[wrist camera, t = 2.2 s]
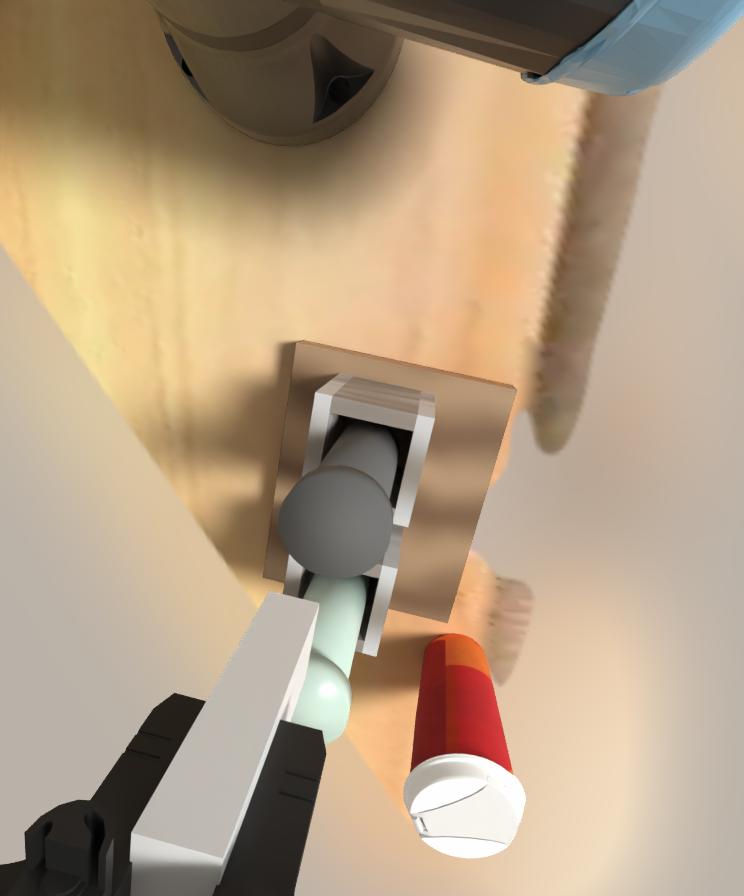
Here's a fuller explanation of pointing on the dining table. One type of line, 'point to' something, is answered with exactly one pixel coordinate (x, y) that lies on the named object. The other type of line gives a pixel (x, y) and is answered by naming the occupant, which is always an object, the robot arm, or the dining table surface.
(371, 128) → the dining table surface
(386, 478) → the gray plug
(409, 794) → the paper cup
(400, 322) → the dining table surface
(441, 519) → the socket board
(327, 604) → the sage plug
